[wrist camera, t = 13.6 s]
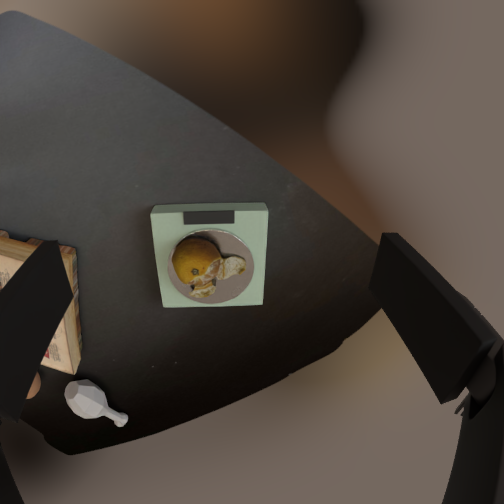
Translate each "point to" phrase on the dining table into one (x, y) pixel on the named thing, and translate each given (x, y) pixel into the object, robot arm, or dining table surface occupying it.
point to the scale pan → (227, 248)
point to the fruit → (203, 265)
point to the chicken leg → (91, 402)
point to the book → (69, 331)
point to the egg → (34, 386)
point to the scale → (210, 216)
